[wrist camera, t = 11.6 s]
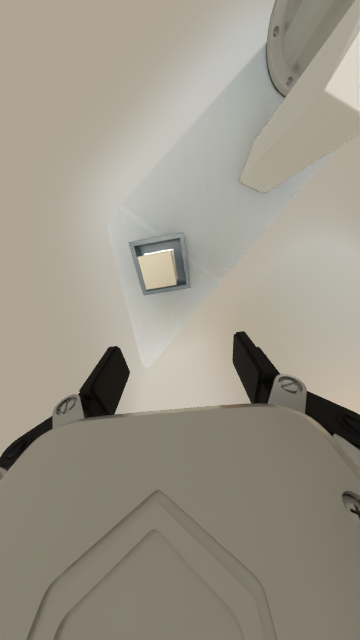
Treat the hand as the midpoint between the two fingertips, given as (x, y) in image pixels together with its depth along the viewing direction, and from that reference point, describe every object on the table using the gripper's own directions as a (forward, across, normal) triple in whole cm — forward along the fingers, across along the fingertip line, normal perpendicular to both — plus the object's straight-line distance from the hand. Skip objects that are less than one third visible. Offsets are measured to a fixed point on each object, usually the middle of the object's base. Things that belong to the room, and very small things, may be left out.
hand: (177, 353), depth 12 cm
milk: (+29, -18, -19) cm, 39 cm away
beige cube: (+23, +3, -4) cm, 23 cm away
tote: (+29, +3, -4) cm, 29 cm away
